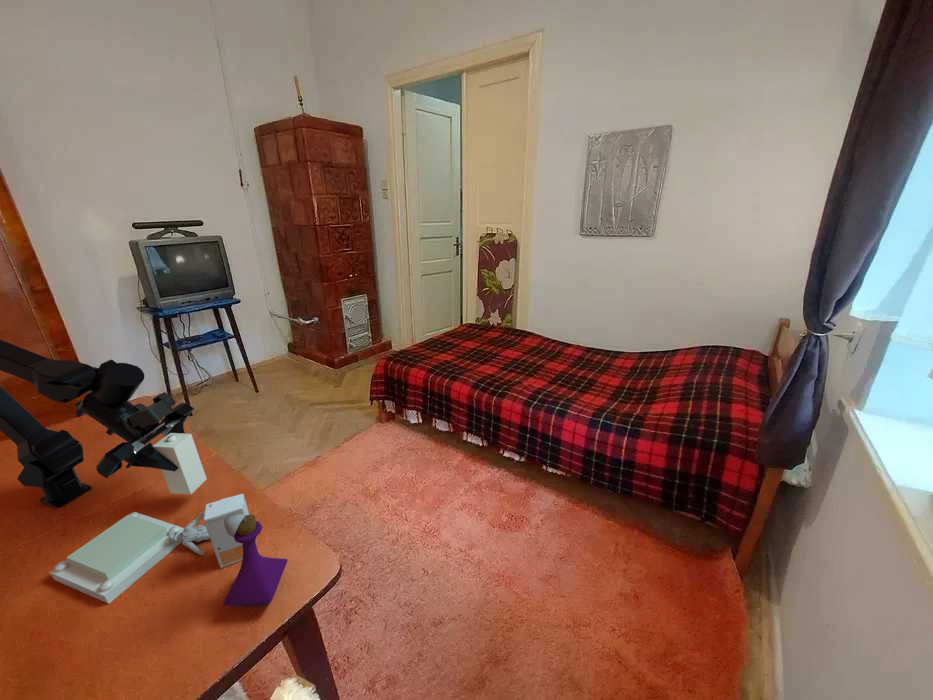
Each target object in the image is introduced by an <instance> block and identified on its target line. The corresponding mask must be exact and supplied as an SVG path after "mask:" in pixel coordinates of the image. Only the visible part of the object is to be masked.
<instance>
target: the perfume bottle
mask: <svg viewBox="0 0 933 700" xmlns="http://www.w3.org/2000/svg"><path fill="white" fill-rule="evenodd" d="M224 526H225V529H226V531H227V534H229V535H230V536H232V537H234V539H235V541H236V542H238V543H242V546H243V559H242V560H241V565H240V568H239V571H238V572H237V575H236V577H235V579H234V581H233V583H232V585H231V587H230V589H229V591H228V593H227V595H226V596H225V599H224V600H223V603H222V606H224V607H233V608H234V607H235V608H236V607H238V608H249V607H250V608H251V607H261V606H262V607H263V606H269V605H270V604H271V603H272V601H273V599H274V597H275V595H276V591H277V589H278V587H279V584H280V582H281V579H282V576H283V574H284V572H285V569H286V566H287V563H288V559H287V558H279V557H268V556H263V555H261V554H260V553H259V550H258V546H257V537H258V536H259V534H261V532H262V529H263V525H262V524H261V522H260V521H258V520H257V517H256V515H255V514H250V513H249V515H247V514H236V515H230V516H228V517H226V518H225V520H224Z"/></svg>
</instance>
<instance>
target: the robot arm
mask: <svg viewBox="0 0 933 700" xmlns="http://www.w3.org/2000/svg"><path fill="white" fill-rule="evenodd" d="M0 371H1V372H5V373H7V374H9V375H11V376H15V377H16V378H19V379H22V380H25V381H27V382H29V383H31V384H33V385H34V388H35V390H36V392H37V393H38V394H39V395H40V394H41V395H42V396H44V397H46V398H48V399H50V400H51V401H52V402H53V401H54V402H56V403H59V404H66V403H69V402H72V401H73V400H75V399H78V398H80V397H81V396H84V395H85V394H86V395H85V396H84V398H83V399H81V400H79V401H77V402H76V403H75V404H74V405H75V414H76V417H78V418H80V417H82V416H85V415H87V416H88V417H90V418H92V419H93V420H95V421H96V422H98V423H99V424H101V425H102V426H103V427H105V428H106V431H105V433H106V434H107V435H108V436H110V437H111V436H113V434H116V435H117V436H118V437H120V438H121V439H123V441H122V442H121V443H119V444H117V445H116V446H115V447H113V448H111V449H110V450H109V451H107V452H105V454H104V455H103V457H102V458H101V459H100V460H99V462H98V464H97V465H96V467H95V468H96V471H97V473H98V474H99V475H100V476H101V477H103V478H105V479H108V478H109V477H111V476H113V475H114V474H115V473H117V472H118V471H119V470H121V469H122V467H123V462H125V463H127V465H125V468H126V469H130V468H131V467H140V468H149V469H150V468H151V469H157V470H161V469H163V470H169V471H176V470H177V469H178V467H177V466H176V465H175V464H174V463H173V462H171V461H170V460H168V459H167V458H165V457H164V456H162V455H161V454H159V453H158V452H156V451H155V449H154V448H153V444H152V442H151V441H152V440H154V439H155V438H156V437H158V436H159V435H160V434H162V435H163V436H164V437H166V436H167V435H168V434H170V433H183V434H186V432H185V429H184V428H185V427H184V423H185V422H186V421H187V419H188V417H189V416H190V415H191V413H193V412H194V410H195V408H194V407H193V406H192V405H190V404H189V403H187V402H181V403H179V404H177V405H176V402H177V401H176V400H175V399H174V398H173V396H171V395H170V394H169V393H166V392H162V393H160V394H158V395H156V396H154V397H153V398H152V401H153V403H151V404H149V405H148V406H146V405H144V404H143V403H137V404H133V403H132V402H130V401H129V400H130V399H132V397H133V396H134V394H135V393H136V391H137V390H138V389H139V387H140V386H141V384H142V383H143V381H144V380H145V372H144V371H143V370H142V369H141V368H140V367H139V366H138V365H134V364H131V363H128V362H127V363H126V362H116V361H115V360H113V359H109V360H106V361H104V362H102V363H100V365H99V367H96V366H91V365H89V364H87V363H83V362H80V361H76V360H73V359H72V360H71V359H66V360H65V359H52V358H49V357H46V356H43V355H41V354H38V353H35V352H33V351H30V350H28V349H25V348H23V347H22V346H21V347H20V346H18V345H15V344H13V343H11V342H8V341H6V340H3V339H0ZM174 405H176V406H175V407H173V406H174ZM172 407H173V408H172ZM0 432H2V433H3V435H5V437H7V438H8V439H10V440H11V441H12V442H13V443H14V445H16V450H17V461H18V462H19V464H21V466H22V467H23V469H22V470H21V471H20V473H19V474H18V476H17V479H16V480H17V481H19V483H20V484H21V485H22V486H24V487H31V488H40V489H41V491H42V493H43V494H44V496H43V497H41V498H40V499H39V502H40V503H42V504H46V505H48V506H51V507H54V508H56V509H57V508H58V509H59V508H61V507H63V506H64V505H66V504H67V503H69V502H72V501H73V500H74V499H77V498H78V497H79V496H81V495H83V494H85V493H87V492H88V491H90V490H92V489H93V487H92V485H90V484H88V483H87V484H86V483H83V482H82V481H81V479H80V477H79V475H78V473H77V472H76V469H75V467H76V466H78V465H80V464H82V463H83V462H84V461H85V460H84V448H83V445H82V444H81V443H80V441H79V440H78V439H75V437H74V436H72V435H71V433H70V432H69V431H67V430H65V429H61V430H59V431H57V430H54V429H53V430H52V429H48V428H47V427H46V426H44V425H43V424H42V423H41V422H40V421H39V420H38V419H37V418H36V417H34V416H33V415H32V414H31V413H30V412H29V411H28V410H27V409H26V408H25V407H23V405H22V404H20V403H19V402H18V401H17V400H16V399H15V398H14V397H13V396H12V395H11V394H10V393H9V392H8V391H7V390H6V389H4V388H3V387H2V386H1V385H0ZM124 441H125V442H124Z"/></svg>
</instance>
